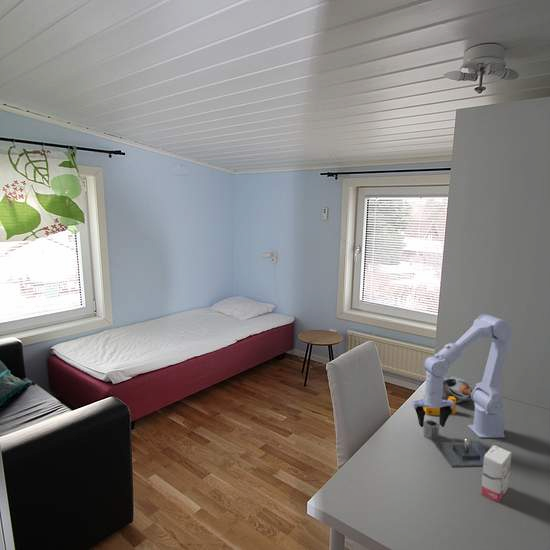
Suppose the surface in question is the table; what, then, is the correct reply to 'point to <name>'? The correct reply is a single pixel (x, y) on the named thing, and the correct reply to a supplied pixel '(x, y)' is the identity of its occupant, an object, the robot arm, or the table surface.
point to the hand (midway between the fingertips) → (431, 425)
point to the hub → (431, 430)
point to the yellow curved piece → (437, 410)
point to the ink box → (496, 473)
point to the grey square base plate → (463, 453)
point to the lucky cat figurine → (456, 389)
